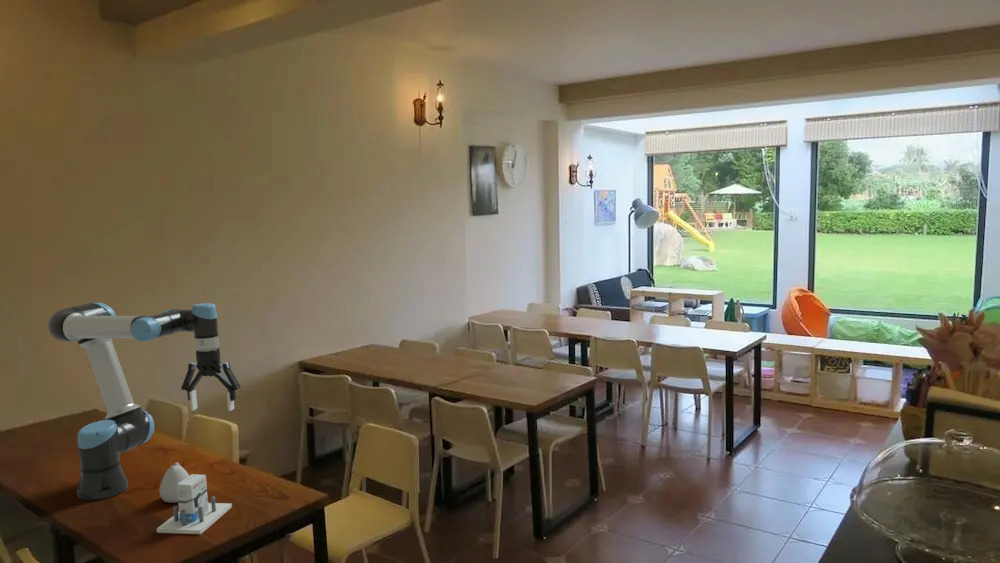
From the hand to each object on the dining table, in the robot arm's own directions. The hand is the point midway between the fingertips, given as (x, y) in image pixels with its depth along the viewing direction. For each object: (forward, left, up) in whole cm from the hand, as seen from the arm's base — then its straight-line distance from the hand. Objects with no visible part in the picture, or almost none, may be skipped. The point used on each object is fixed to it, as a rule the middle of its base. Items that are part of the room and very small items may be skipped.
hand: (212, 409), depth 238 cm
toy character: (-8, -12, -27) cm, 31 cm away
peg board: (+7, -26, -27) cm, 38 cm away
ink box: (+7, -26, -26) cm, 37 cm away
